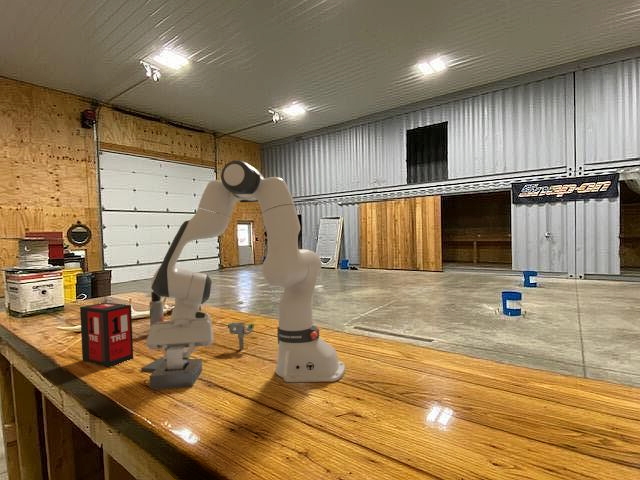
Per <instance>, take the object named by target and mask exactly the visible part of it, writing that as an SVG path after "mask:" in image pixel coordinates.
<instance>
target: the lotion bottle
mask: <svg viewBox="0 0 640 480" xmlns="http://www.w3.org/2000/svg"><path fill="white" fill-rule="evenodd" d="M150 295H151V296H150V297H151V298H150V299H151V301H150V302H149V304H148V305H149V324H150V325H149V326H150V328H151V326H152V325H153V324H155V323H156V322H164V321H165V319H164V301H163V300H162V299H161V298H162V297H159V296H157V295H156V294H155V292H154V291H153V290H152V291H151V292H150ZM155 325H156V324H155Z"/></svg>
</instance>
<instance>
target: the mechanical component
mask: <svg viewBox="0 0 640 480" xmlns="http://www.w3.org/2000/svg"><path fill="white" fill-rule="evenodd" d="M254 328H255V326H254V324H253V323H249V324H248V325H247V326H246V324H245V322H230V323H228V324H227V329H228V330H229V331H228V332H229V334H231V335H237V339H238V342H239V345H238V347H239V350H240V351H242V350H243V349H245V348H244V338H245V335H250V334H251V333H252V332H253V330H254Z"/></svg>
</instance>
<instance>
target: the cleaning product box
mask: <svg viewBox="0 0 640 480" xmlns="http://www.w3.org/2000/svg"><path fill="white" fill-rule="evenodd" d="M79 308H80V312H79V313H80V334H81V335H80V336H81V354H82V356H81V358H82V362H86V363H89V362H90V364H94V365H98V366H101V367H105V368H112V367H115V366H118V365H120V364H123V363H125V362H124V361H126V362H128V361H127V360H129V361H131V360H130V359H132V360H134V346H133V345H134V344H133V343H134V341H133V339H134V338H133V320H132V318H133V317H132V305H131V304H122V303H113V302H106V301H105V302H100V303H95V304H89V305H84V306H79ZM122 362H123V363H122ZM119 363H120V364H119ZM117 364H118V365H117Z"/></svg>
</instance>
